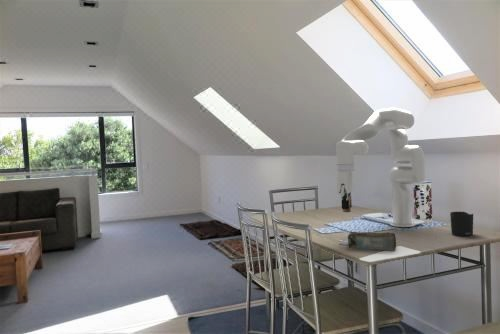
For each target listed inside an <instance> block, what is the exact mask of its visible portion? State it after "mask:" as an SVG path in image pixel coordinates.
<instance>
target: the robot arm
mask: <svg viewBox="0 0 500 334" xmlns="http://www.w3.org/2000/svg"><path fill="white" fill-rule="evenodd" d="M414 124H415V117H414V115H413V113H412V112H410V111H408V110H405V109H401V108H397V107H389V108H381V109H377V110H375V111H374V112H372V114H371V115H370V116H369V117H368V119H367V120H366V121H365V122H364V123H363V124H362V125H361V126H358V127H357V128H355V129H353V130H352V131H350V132H348V133H347V134H346V135H345V136H344V137H343V138H342V139H341V140H340V141H337V142H336V148H335V151H336V152H335V153H336V172H337V194H340V198H341V209H342V210H343V209H349V200H348V196H350V209H351V208H352V205H353V204H352V192H353V191H354V176H353V172H354V171H355V159H354V158H355V157H363V156H365V155H367V154H368V152H369V144H368V143H367V141H370V140H372V139H373V140H374V139H375V138H376V137H377V136H379V134H380V133H381V132H382V130H384V131H385V132H386V133H387V134H388V136H389V138H390V149H391V150H390V151H391V160H392V163H395V164H400V165H397V166H394V167H392V168H391V169H390V171H389V179H390V184H391V195H392V198H391V199H392V201H391V202H392V221H393V223H391V222H392V221H390V222H389V225H390V226H392V227H397V228H412V227H415V226H416V223H415V222H414V221H413V210H412V203H413V202H412V191H411V188H410V187H409V186H408V185H414V186H415V185H422V184H423V183H424V182H425V177H426V171H425V169H426V167H425V166H426V165H425V153H424V150H423V149H422V147H421V146H420V145H416V144H411V145H409V139H408V134H407V132H406V131H405V130H408V129H411V128H412V127H413V126H414ZM402 164H404V165H402ZM405 164H407V165H405ZM408 164H409V165H410V166H409V165H408ZM345 192H346V193H345ZM412 222H413V223H412Z"/></svg>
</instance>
